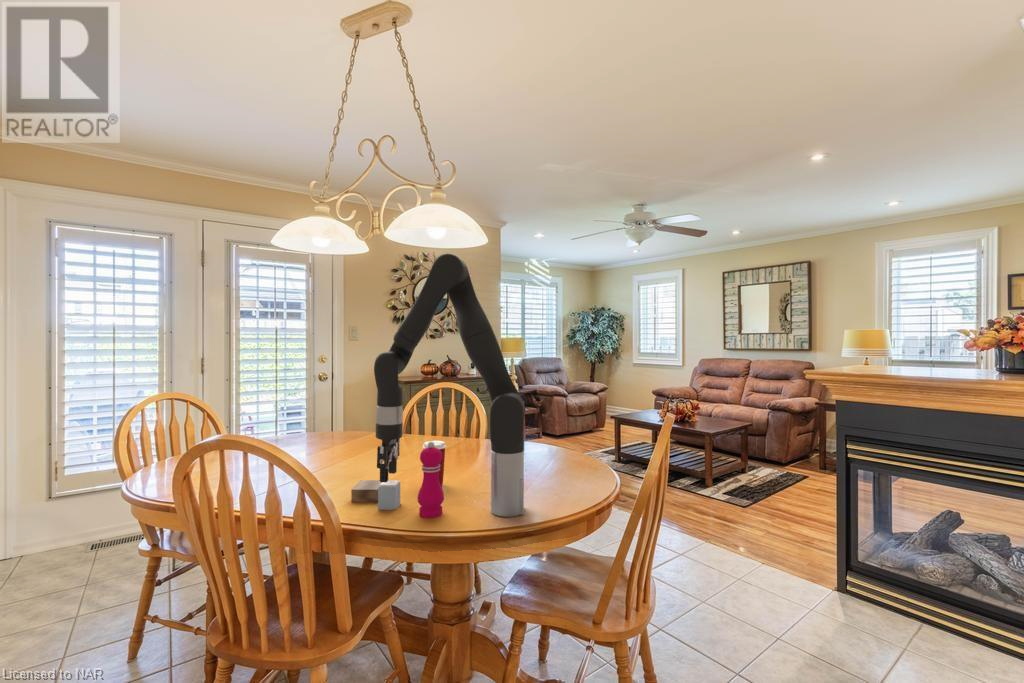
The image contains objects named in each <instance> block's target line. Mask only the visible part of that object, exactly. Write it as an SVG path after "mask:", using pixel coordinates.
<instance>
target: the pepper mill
mask: <svg viewBox="0 0 1024 683" xmlns="http://www.w3.org/2000/svg"><path fill="white" fill-rule="evenodd" d="M419 459H420V462H421V464H422V465H421V468H422V469H421V471H422V472H423V478H422V482H421V487H420V488H419V491H418V493H417V503H418V504H419V505H420V507H419V514H418V515H419V516H420V517H422V518H426V519H431V518H432V519H433V518H434V519H435V518H438V517H440V516H441V515H442V514H443V506H442V504H443V502H444V501H445V494H444V490H443V488H442V487H443V486H441V485H440V482H439V476H438V474H439V470H440V464H439V463H440V462H441V460H442V453H441V451H440V450H439V449H438V448H435V447H434V443H433V442H429V443H428V448H425V449H424V450H423V449H422V450H421V452H420V454H419Z"/></svg>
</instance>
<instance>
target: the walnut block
mask: <svg viewBox="0 0 1024 683" xmlns="http://www.w3.org/2000/svg"><path fill="white" fill-rule="evenodd" d="M381 483H382V482H380V479H378V480H375V479H374V480H373V479H371V480H369V479H368V480H365V479H363V480H359V481H358V482H357V483H356V485H354V486H353V487H352V489H351V499H350V500H351V503H378V487H379V486H380V484H381Z"/></svg>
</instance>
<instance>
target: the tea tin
mask: <svg viewBox="0 0 1024 683" xmlns="http://www.w3.org/2000/svg"><path fill="white" fill-rule="evenodd" d="M377 504H378V505H377V510H378V511H396V510H398V508H399V506H400V505H401V481H400V480H398V479H397V480H396V479H395V480H394V479H391V480H389V479H388V481H387V482H382V483H381V484H380V486H379V487H378V502H377Z"/></svg>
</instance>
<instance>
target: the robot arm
mask: <svg viewBox="0 0 1024 683" xmlns="http://www.w3.org/2000/svg"><path fill="white" fill-rule="evenodd" d="M446 295H448V297H449V300H450V301H451V305H452V307H453V310H454V313H455V318H456V324H457V330H458V333H459V336H460V339H461V342H462V344H463V346H464V349H465V351H466V353H467V355H468V357H469V359H470V361H471V363H472V364H473V366H474V367H475V369H476V370H477V372H478V374H479V375H480V376H481V378H482V379H483V382H484V383H485V386H486V388H487V390H488V393H489V398H490V400H491V405H490V410H489V438H490V449H491V450H490V513H491V514H493V515H495V516H498V517H505V518H508V517H509V518H510V517H511V518H512V517H517V516H523V515H524V514H525V513H524V512H525V510H524V508H525V506H524V504H525V492H524V491H525V436H524V434H525V433H524V426H525V424H524V422H525V418H524V414H525V408H526V406H525V402H524V400H523V398H522V397H521V395H520V393H519V391H518V389H517V388H516V385H515V384H514V382H513V379H512V378H511V375H510V374H509V372H508V368H507V365H506V361H505V359H504V356H503V353H502V350H501V347H500V345H499V342H498V340H497V337H496V334H495V332H494V330H493V327H492V325H491V323H490V321H489V319H488V316H487V314H486V312H485V311H484V308H483V306H482V305H481V304H480V302H479V300H478V296H477V294H476V291H475V288H474V285H473V282H472V278H471V275H470V272H469V268H468V266H467V264H466V262H465V261H464V260H462V259H461V257H458V256H457V255H455V254H453V253H444V254H441V255H438V257H437V258H436V259H435V260H434V262H433V263H432V265H431V267H430V270H429V272H428V275H427V277H426V280H425V282H424V284H423V286H422V288H421V291H420V292H419V294H418V295H417V298H416V300H415V301H414V303H413V305H412V306H411V308H410V310H409V311H408V313H407V314H406V316H405V317H404V319H403V320H402V322H401V324H400V325H399V326H398V329H397V330H396V332H395V334H394V335H393V343H392V345H391V346H390V349H389V350H388V351H385V352H382V353H379V354H378V355H377V356H376V358H375V361H374V364H373V368H374V369H373V375H374V381H375V386H376V389H377V390H376V391H377V395H376V397H377V398H376V405H377V406H376V411H375V438H376V439H377V440H381V441H382V442H381V445H378V446H377V448H376V449H377V452H376V453H377V454H376V469H379V480H380V482H387V481H388V480H389V474H394V475H395V474H396V473H398V472H397V465H398V464H397V463H398V459H399V457H400V440H401V438H402V437H403V436H404V435H403V432H404V431H403V430H404V428H403V427H404V424H403V423H404V416H403V415H404V410H403V388H402V386H400V384H399V375H400V374H401V373H402V372H403V371H404V370H405V369H406V368H407V366H408V364H409V363H410V360H411V358H412V356H413V353H414V352H415V349H416V347H417V346H418V345H419V344H420V342H421V340H422V339H423V337H424V336H425V334H426V333H427V330H429V326H430V325H431V323H432V321H433V318H434V316H435V313H436V311H437V309H438V307H439V305H440V304H441V301H442V300H443V299H444V298H445V296H446Z"/></svg>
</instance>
